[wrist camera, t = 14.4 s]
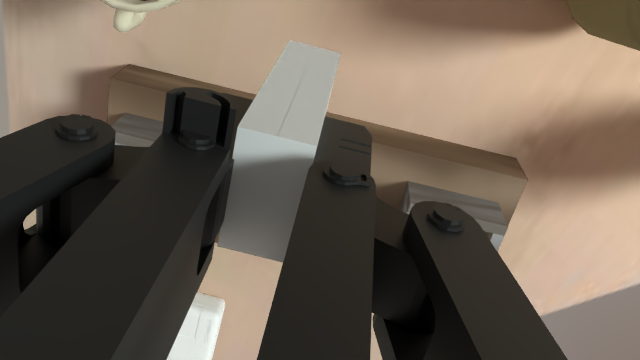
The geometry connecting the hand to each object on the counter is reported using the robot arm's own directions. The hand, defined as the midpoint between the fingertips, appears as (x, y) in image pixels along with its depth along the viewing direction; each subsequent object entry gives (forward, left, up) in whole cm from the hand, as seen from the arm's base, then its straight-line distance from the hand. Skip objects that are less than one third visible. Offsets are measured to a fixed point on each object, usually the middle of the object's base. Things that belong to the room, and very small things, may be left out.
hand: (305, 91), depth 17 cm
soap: (+36, -7, -29) cm, 46 cm away
